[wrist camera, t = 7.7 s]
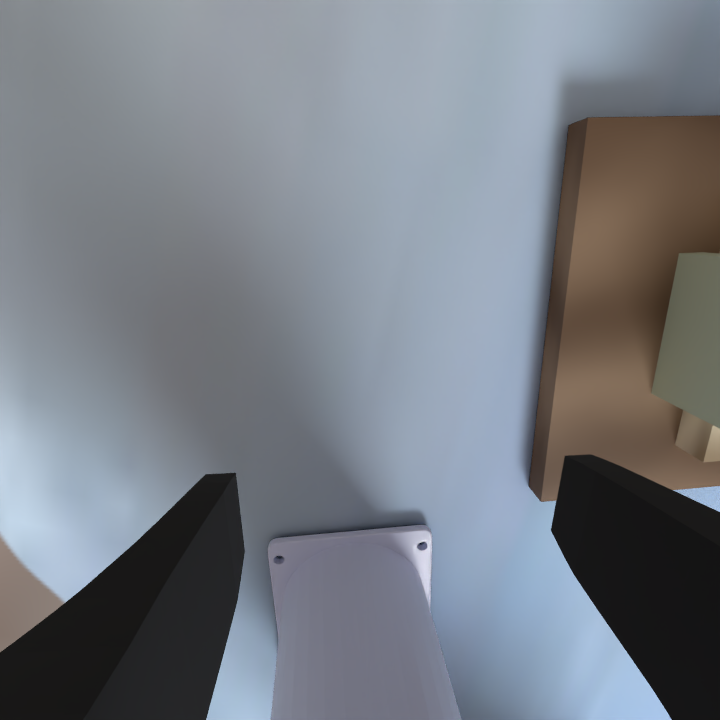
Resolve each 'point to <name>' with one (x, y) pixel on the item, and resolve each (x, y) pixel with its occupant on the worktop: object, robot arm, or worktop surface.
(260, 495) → the worktop surface
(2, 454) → the worktop surface
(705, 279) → the saddle block
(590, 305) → the cleat board
